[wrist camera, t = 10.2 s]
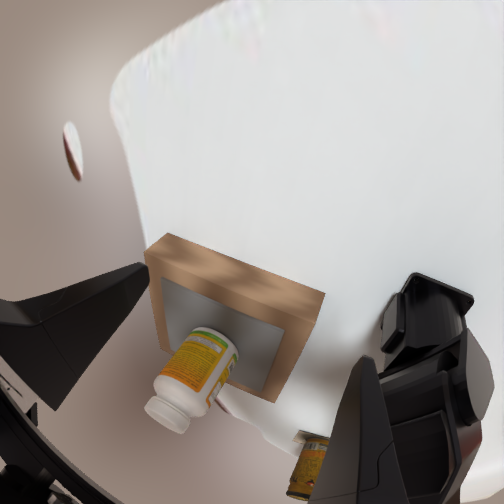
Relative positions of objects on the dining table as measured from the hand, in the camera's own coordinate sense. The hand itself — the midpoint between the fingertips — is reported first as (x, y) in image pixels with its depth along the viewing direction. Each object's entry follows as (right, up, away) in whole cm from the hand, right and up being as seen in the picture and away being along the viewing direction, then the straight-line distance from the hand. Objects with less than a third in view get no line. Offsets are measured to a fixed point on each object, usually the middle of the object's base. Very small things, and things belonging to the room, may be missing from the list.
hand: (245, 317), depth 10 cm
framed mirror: (-2, -5, +20) cm, 21 cm away
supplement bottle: (-3, -7, +17) cm, 19 cm away
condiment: (+12, -31, +31) cm, 46 cm away
